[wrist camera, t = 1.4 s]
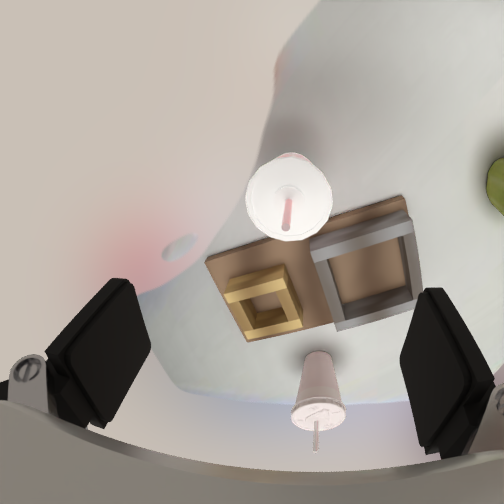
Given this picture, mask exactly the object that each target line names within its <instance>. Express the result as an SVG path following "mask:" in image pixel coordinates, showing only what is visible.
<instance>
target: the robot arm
mask: <svg viewBox="0 0 504 504" xmlns="http://www.w3.org/2000/svg"><path fill="white" fill-rule="evenodd" d="M150 350H151V342H150V339H149V336H148V333H147V330H146V326H145V323H144V320H143V316H142V313H141V310H140V306H139V303H138V299H137V296H136V292H135V288H134V286H133V284H131V283H130V282H129V280H127V279H120V278H112V279H110V280H109V281H108V282H107V283H106V284H105V285H104V286H103V288H101V290H100V291H99V292H98V293H97V294H96V295H95V296H94V297H93V298H92V299H91V300H90V301H89V302H88V303H87V304H86V305H85V306H84V307H83V309H82V310H81V311H80V312H79V313H78V314H77V315H76V316H75V317H74V319H72V321H71V322H70V323H69V324H68V325H67V326H66V327H65V328H64V329H63V331H62V332H61V333H60V334H59V335H58V336H57V337H56V339H55V340H54V341H53V342H52V343H51V345H50V346H49V347H48V348H47V349H46V350H45V353H46V354H47V356H48V360H47V361H45V360H44V358H43V357H41V356H40V355H35V354H32V355H27V356H25V357H22V358H21V359H19V360H18V361H17V362H16V363H15V364H14V365H13V367H12V368H11V371H10V375H9V380H6V381H3V382H0V504H504V383H503V384H500V385H498V386H495V384H494V382H493V381H494V376H493V374H492V372H491V370H490V368H489V366H488V364H487V362H486V360H485V358H484V356H483V354H482V353H481V351H480V349H479V347H478V345H477V343H476V342H475V340H474V338H473V336H472V335H471V333H470V331H469V329H468V328H467V326H466V324H465V323H464V321H463V319H462V318H461V316H460V314H459V313H458V311H457V309H456V308H455V306H454V305H453V303H452V301H451V300H450V298H449V297H448V295H447V294H446V292H445V291H444V289H443V288H425V290H424V291H423V292H421V293H420V294H419V295H418V299H417V302H416V306H415V310H414V313H413V317H412V320H411V323H410V327H409V330H408V333H407V336H406V339H405V342H404V345H403V348H402V351H401V354H400V367H401V370H402V374H403V377H404V381H405V385H406V389H407V393H408V396H409V400H410V405H411V409H412V413H413V417H414V422H415V426H416V431H417V436H418V440H419V444H420V446H421V447H424V448H425V454H426V455H428V454H433V453H437V452H439V453H440V456H441V460H437V461H432V462H426V463H420V464H414V465H407V466H400V467H391V468H383V469H373V470H361V471H344V472H291V471H272V470H259V469H249V468H241V467H233V466H225V465H219V464H212V463H207V462H201V461H195V460H191V459H186V458H181V457H176V456H172V455H167V454H164V453H160V452H156V451H151V450H148V449H145V448H141V447H137V446H134V445H131V444H127V443H124V442H121V441H118V440H115V439H112V438H109V437H106V436H103V435H100V434H98V433H95V432H92V431H90V430H88V428H87V425H88V424H89V422H90V423H91V424H92V425H94V426H97V427H100V428H102V429H104V428H105V426H106V424H107V423H108V422H111V421H112V420H113V418H114V416H115V414H116V412H117V411H118V409H119V407H120V405H121V403H122V401H123V399H124V398H125V396H126V394H127V392H128V390H129V388H130V387H131V385H132V383H133V381H134V379H135V378H136V376H137V374H138V372H139V370H140V369H141V367H142V365H143V363H144V361H145V360H146V358H147V356H148V354H149V353H150Z"/></svg>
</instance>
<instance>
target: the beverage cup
mask: <svg viewBox="0 0 504 504" xmlns="http://www.w3.org/2000/svg"><path fill="white" fill-rule="evenodd" d="M245 200H246V206H247V211H248V215H249V216H250V218H251V219H252V221H253V222H254V224H255V226H256V227H257V228H258V229H260V230H261V231H262V232H264V233H265V234H266V235H268V236H269V237H271V238H275V239H279V240H282V241H296V240H303V239H305V238H307V237H309V236H311V235H313V234H315V233H317V232H318V231H319V230H320V229H321V227H322V226H323V225H324V224H325V223H326V222H327V221H328V218H329V215H330V212H331V209H332V206H333V202H332V191H331V187H330V185H329V183H328V181H327V179H326V178H325V176H324V174H323V172H322V171H321V170H319V169H318V168H317V167H316V166H314V165H313V164H312V163H311V161H310V160H309V159H307V158H306V157H305V156H303V155H301V154H298V153H294V152H291V153H284V154H282V155H280V156H278V157H277V158H275V159H273V160H271V161H270V162H268V163H266V164H264V165H263V166H261V167H260V168H259V169H258V170H257V171H256V173H255V174H254V175H253V177H252V178H251V179H250V181H249V183H248V187H247V192H246V196H245Z"/></svg>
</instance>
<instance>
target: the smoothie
mask: <svg viewBox="0 0 504 504" xmlns="http://www.w3.org/2000/svg"><path fill="white" fill-rule="evenodd" d="M345 417H346V407H345V405H344V404H343V403H342V401H341V396H340V392H339V388H338V383H337V379H336V375H335V370H334V366H333V362H332V358H331V356H330V355H329V354H328V353H326V352H323V351H315V352H312V353H310V354H308V355H307V356H306V358H305V362H304V367H303V371H302V376H301V381H300V386H299V390H298V395H297V399H296V404H295V405H294V406H293V408H292V410H291V420H292V422H293V423H294V424H295V425H296V426H297V427H299V428H302V429H305V430H310V431H314V443H313V452H314V453H318V443H319V442H318V441H319V431H322V430H328V429H331V428H334V427H336V426H338V425H339V424H341V423H342V422H343V421H344V419H345Z"/></svg>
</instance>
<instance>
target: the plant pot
mask: <svg viewBox="0 0 504 504" xmlns="http://www.w3.org/2000/svg"><path fill="white" fill-rule="evenodd" d="M486 190H487V195H488V198H489V200H490V202H491V203H492V204H493V205H494V206H495V207H496V208H497V209H498V210H499V211H500V212H501V213H502V214H503V215H504V158H500V159H498V160H497V161H496V162H494V164H493V165H492V166H491V168H490V170H489V172H488V181H487V186H486Z"/></svg>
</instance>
